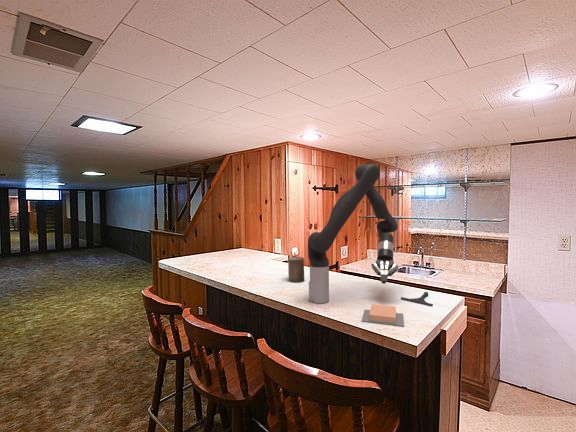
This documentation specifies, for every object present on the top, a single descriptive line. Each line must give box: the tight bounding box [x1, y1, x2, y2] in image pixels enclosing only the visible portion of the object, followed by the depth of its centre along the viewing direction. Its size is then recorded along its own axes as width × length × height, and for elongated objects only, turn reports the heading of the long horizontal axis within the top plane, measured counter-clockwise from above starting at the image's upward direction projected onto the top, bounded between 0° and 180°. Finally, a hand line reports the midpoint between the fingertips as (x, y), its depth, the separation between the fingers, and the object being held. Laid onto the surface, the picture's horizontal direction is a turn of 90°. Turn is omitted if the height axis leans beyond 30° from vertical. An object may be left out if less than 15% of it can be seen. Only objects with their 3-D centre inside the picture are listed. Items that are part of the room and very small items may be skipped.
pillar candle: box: [287, 256, 305, 283], centre depth 183 cm, size 10×10×15 cm
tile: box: [369, 303, 397, 324], centre depth 125 cm, size 10×2×13 cm
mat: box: [361, 309, 405, 328], centre depth 124 cm, size 16×13×1 cm
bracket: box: [400, 291, 434, 308], centre depth 147 cm, size 14×15×3 cm
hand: (383, 282), depth 140 cm, fingers closed
